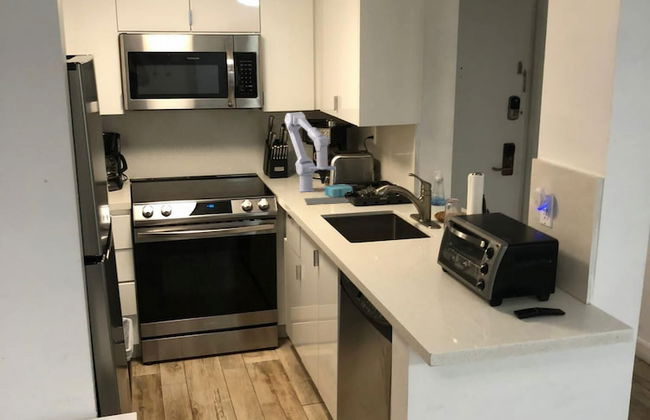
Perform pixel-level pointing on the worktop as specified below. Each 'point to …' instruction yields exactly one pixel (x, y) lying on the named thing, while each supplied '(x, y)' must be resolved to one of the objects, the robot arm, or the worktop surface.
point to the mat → (326, 200)
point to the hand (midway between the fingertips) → (322, 183)
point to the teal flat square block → (337, 190)
